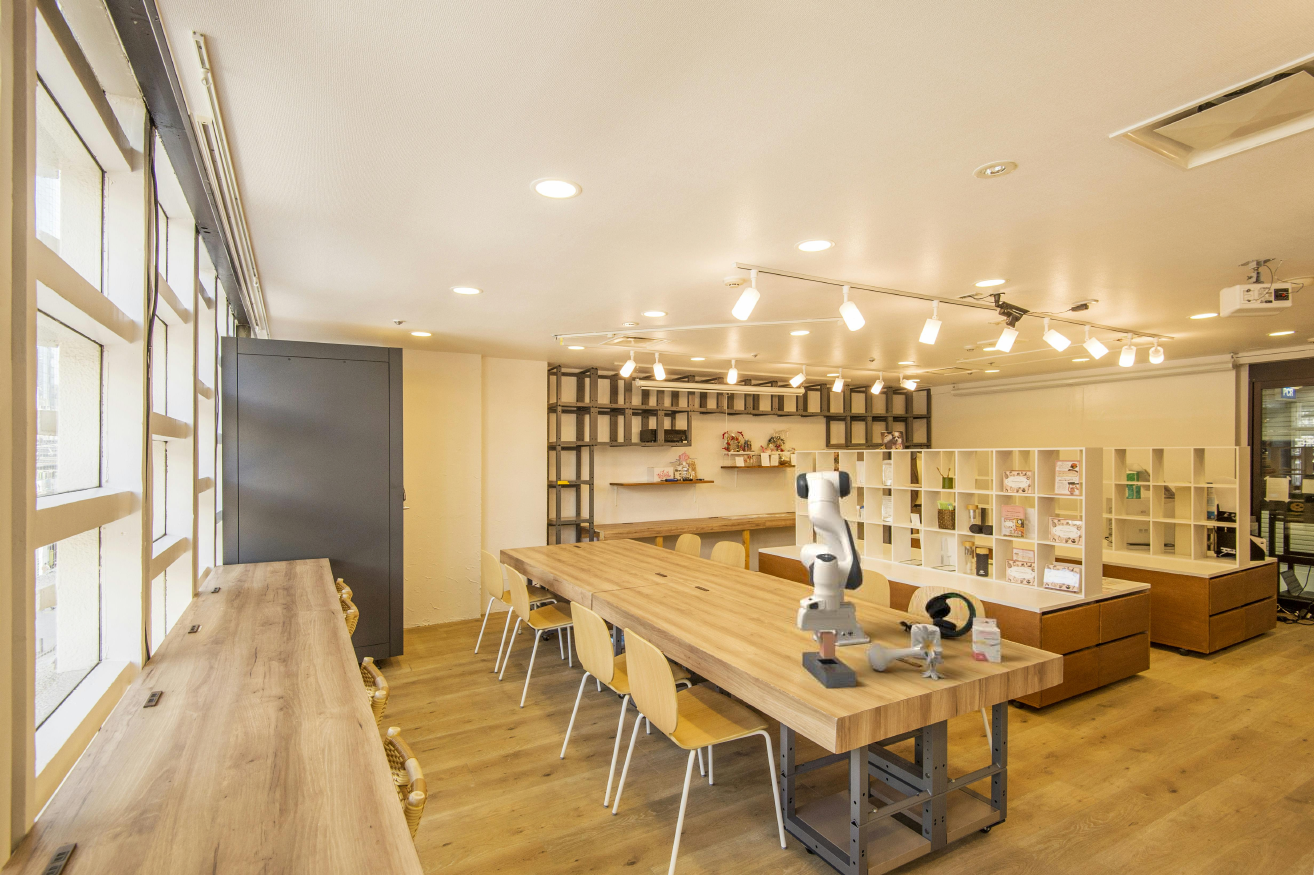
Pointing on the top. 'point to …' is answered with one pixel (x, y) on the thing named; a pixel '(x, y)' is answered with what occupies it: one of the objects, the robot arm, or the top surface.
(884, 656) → the flower vase
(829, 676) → the rail
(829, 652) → the terracotta peg
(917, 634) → the photo printer
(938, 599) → the headset
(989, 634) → the ink cartridge box
